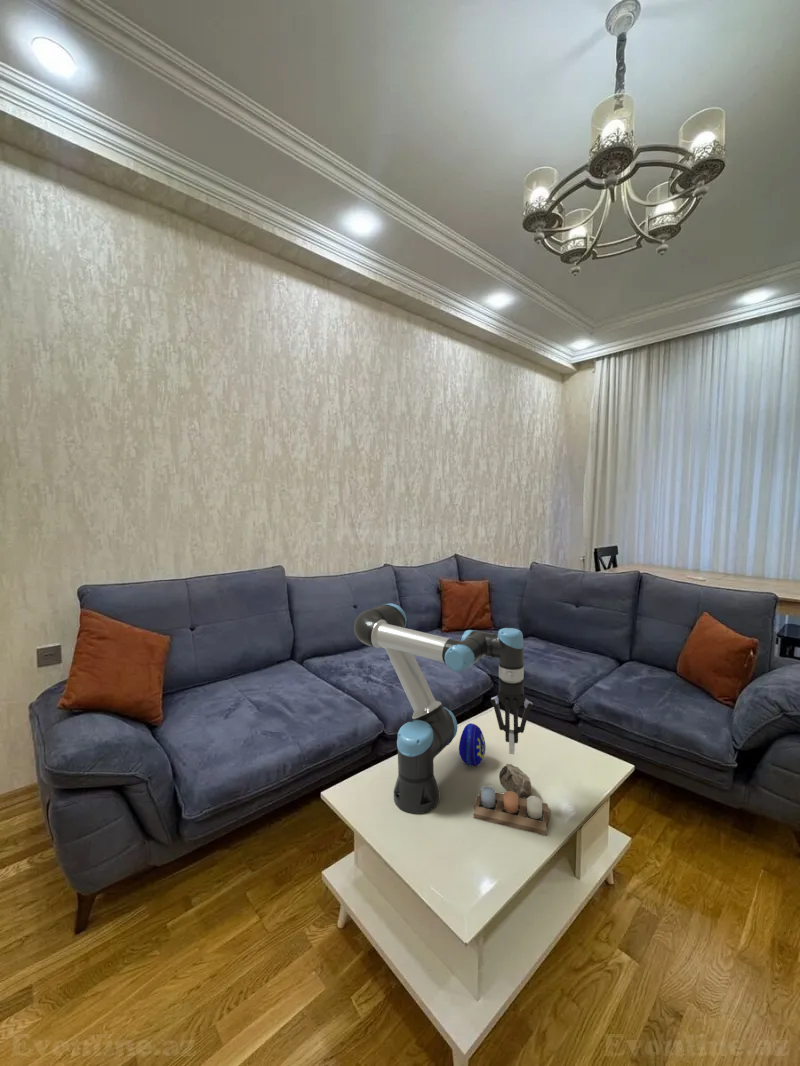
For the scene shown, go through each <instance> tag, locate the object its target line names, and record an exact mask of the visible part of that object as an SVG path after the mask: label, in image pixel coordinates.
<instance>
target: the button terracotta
mask: <svg viewBox="0 0 800 1066" xmlns="http://www.w3.org/2000/svg"><path fill="white" fill-rule="evenodd" d="M503 794H504V808H503V810H504V811H505V812H506V813H508V814H516V813H519V809H518V795H517V794H516V793H515V792H512V791H505V792H504V793H503Z"/></svg>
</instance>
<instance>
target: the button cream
mask: <svg viewBox="0 0 800 1066" xmlns="http://www.w3.org/2000/svg"><path fill="white" fill-rule="evenodd" d="M526 799H527V814H526V815H527V816H528V817H529V818H530V819H534V820H538V819H541V818H543V815H542V803H543V801H542V799H541V798H540V797H538V796H536V795H535V796H534V795H531V796H530V797H528V798H526Z"/></svg>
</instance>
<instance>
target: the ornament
mask: <svg viewBox="0 0 800 1066" xmlns="http://www.w3.org/2000/svg"><path fill="white" fill-rule="evenodd" d="M481 729H482V728H480V727H479V726H478V725H477V724H475V723H472V722H471V723H467V724H466V725H465V727H464V728H463V730H462V733H461V735H460V739H459V743H458V744H459V745H458V753H459V756H460V759H461V760H462V762H463V764H465V765H467V766H470V767H477V766H479V765H480V764H481V763H482V761H483V760H484V757H485V754H486V750H487V749H486V748H487V747H486V740H485V737H484V734H483V732H482V730H481Z"/></svg>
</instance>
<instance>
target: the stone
mask: <svg viewBox="0 0 800 1066" xmlns="http://www.w3.org/2000/svg"><path fill="white" fill-rule="evenodd" d="M499 783H500V785H501V786H502V788H504V790H505V792H507V791H512V792H515V793H516V794H517V795H518V797H519V798H524V799H527V798H528V797H530V796H532V794H533V792H532V783H531V779H530V777H529V776H528V775H527V774H526V772H523V770H521V769H520V768H519V767H518V766H515V765H513V764H512V763H506V765H504V766H503V767H502V768H501V770H500V772H499Z"/></svg>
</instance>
